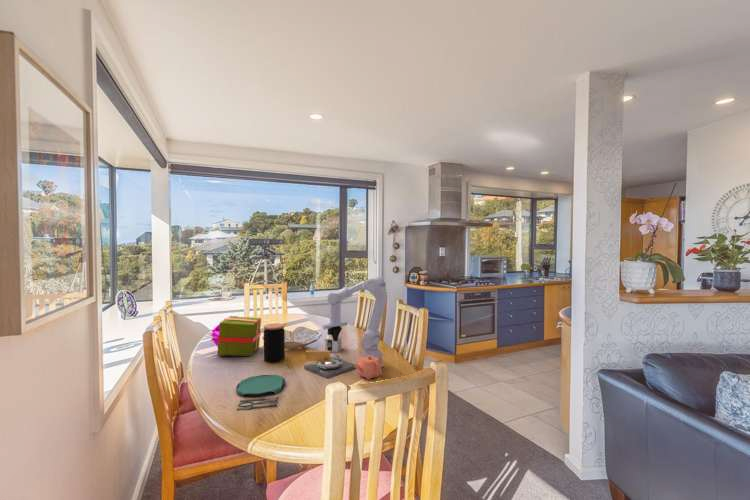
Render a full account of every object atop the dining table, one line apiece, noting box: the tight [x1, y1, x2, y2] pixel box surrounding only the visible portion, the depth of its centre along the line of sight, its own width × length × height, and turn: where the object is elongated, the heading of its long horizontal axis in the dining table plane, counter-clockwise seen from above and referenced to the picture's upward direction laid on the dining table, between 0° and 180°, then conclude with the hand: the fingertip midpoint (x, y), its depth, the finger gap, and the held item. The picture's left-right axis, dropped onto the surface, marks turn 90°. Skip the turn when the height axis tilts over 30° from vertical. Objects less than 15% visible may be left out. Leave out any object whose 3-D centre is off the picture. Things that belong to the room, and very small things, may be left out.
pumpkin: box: [354, 355, 383, 381], centre depth 158 cm, size 12×12×10 cm
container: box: [324, 329, 343, 353], centre depth 199 cm, size 8×8×13 cm
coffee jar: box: [263, 322, 286, 363], centre depth 183 cm, size 11×11×18 cm
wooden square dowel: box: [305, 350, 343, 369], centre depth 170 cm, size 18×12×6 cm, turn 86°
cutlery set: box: [236, 374, 286, 412], centre depth 142 cm, size 20×30×2 cm, turn 11°
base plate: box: [303, 360, 356, 379], centre depth 169 cm, size 18×18×2 cm
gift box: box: [210, 315, 262, 357], centre depth 195 cm, size 21×21×25 cm
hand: (335, 340), depth 182 cm, fingers closed
